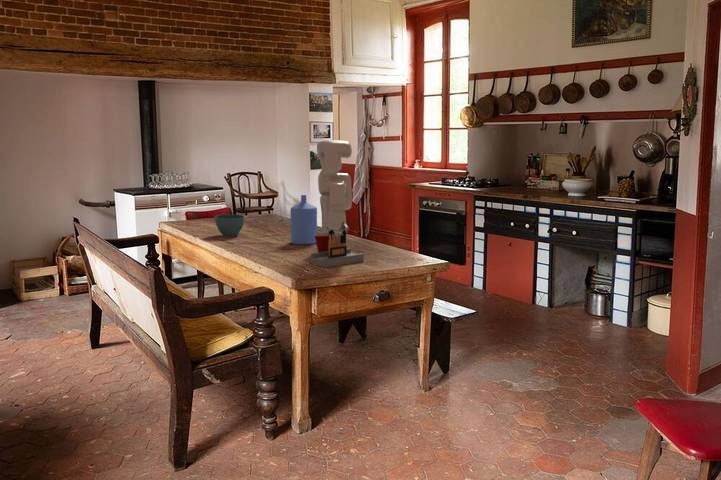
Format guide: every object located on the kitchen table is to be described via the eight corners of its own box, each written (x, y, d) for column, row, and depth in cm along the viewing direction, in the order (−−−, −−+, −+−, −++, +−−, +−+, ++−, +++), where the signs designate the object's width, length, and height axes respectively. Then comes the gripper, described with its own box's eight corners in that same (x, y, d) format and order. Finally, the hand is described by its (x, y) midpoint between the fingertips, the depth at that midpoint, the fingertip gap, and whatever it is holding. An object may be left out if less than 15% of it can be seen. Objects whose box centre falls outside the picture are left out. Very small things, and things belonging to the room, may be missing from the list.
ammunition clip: (329, 258, 327) (329, 234, 325) (327, 257, 328) (327, 233, 326) (347, 255, 333) (347, 232, 331) (344, 255, 335) (344, 231, 333)
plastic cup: (323, 252, 356) (323, 231, 354) (338, 255, 350) (338, 233, 348) (309, 255, 348) (309, 233, 346) (324, 258, 341) (324, 235, 339)
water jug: (313, 245, 379) (313, 197, 375) (287, 244, 382) (286, 196, 378) (320, 240, 394) (320, 194, 390) (295, 239, 398) (294, 193, 393)
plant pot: (248, 233, 420) (247, 214, 418) (240, 238, 402) (239, 218, 400) (220, 233, 422) (219, 214, 420) (211, 237, 404) (210, 218, 402)
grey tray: (311, 263, 328) (310, 253, 328) (349, 257, 343) (349, 248, 342) (324, 267, 319) (324, 257, 318) (363, 261, 334) (363, 251, 333)
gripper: (321, 206, 331) (321, 239, 334) (341, 210, 318) (341, 245, 321) (333, 205, 336) (333, 237, 339) (353, 209, 322) (353, 243, 326)
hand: (337, 241), depth 330 cm, fingers open, 9 cm apart
